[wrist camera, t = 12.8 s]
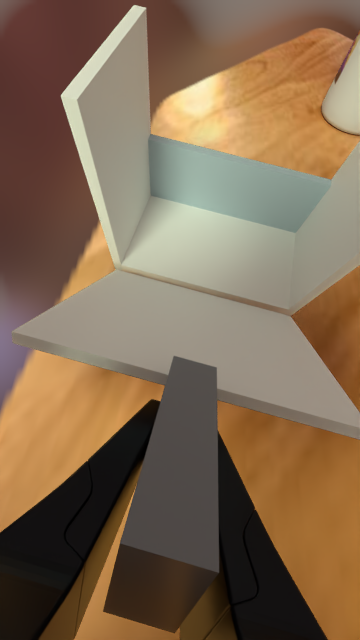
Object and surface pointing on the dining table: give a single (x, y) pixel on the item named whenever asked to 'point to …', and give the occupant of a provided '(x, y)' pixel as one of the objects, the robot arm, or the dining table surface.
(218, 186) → the carton
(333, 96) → the milk bottle
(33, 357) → the dining table surface
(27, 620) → the robot arm
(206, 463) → the carton flap
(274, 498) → the dining table surface
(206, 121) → the dining table surface
